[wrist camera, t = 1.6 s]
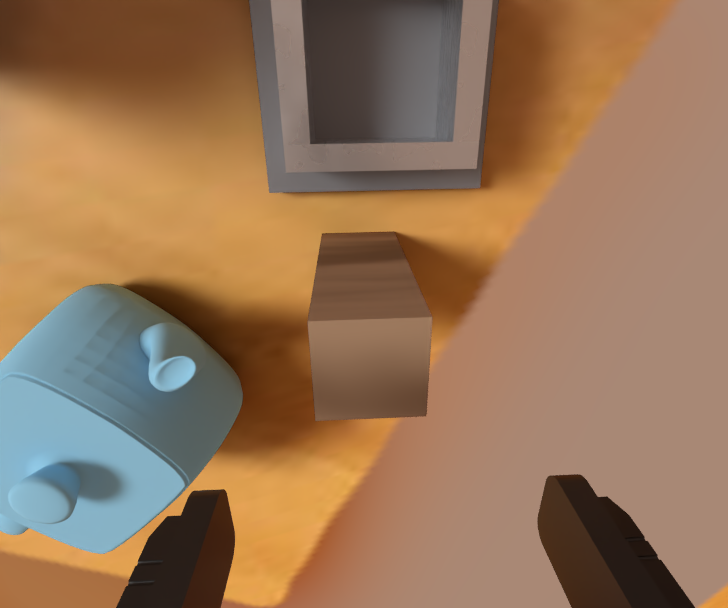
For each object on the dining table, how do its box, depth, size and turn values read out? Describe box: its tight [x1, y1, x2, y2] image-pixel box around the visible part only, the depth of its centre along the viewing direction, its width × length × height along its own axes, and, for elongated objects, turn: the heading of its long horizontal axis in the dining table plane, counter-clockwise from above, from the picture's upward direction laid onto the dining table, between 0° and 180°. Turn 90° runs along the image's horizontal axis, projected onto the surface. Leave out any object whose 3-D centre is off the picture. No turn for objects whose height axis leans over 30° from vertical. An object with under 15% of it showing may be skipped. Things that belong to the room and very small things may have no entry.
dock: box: [249, 0, 499, 193], centre depth 20 cm, size 12×12×5 cm
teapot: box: [0, 284, 243, 554], centre depth 24 cm, size 12×18×12 cm
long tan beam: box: [308, 232, 432, 421], centre depth 21 cm, size 4×4×12 cm
